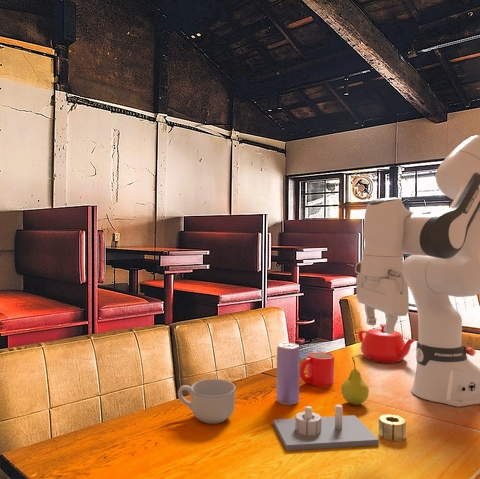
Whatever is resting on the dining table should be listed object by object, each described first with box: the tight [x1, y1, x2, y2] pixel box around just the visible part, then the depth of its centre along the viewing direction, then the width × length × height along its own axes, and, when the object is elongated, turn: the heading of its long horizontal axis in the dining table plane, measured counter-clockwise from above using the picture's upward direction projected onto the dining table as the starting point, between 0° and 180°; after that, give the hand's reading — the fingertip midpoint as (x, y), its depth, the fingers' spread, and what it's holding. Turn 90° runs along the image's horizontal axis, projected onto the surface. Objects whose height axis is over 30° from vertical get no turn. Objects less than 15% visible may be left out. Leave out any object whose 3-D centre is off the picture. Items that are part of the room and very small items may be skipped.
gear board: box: [272, 404, 380, 452], centre depth 105 cm, size 20×13×6 cm, turn 98°
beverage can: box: [275, 342, 301, 406], centre depth 125 cm, size 6×6×15 cm
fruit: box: [340, 356, 369, 406], centre depth 123 cm, size 7×7×12 cm
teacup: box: [177, 378, 237, 425], centre depth 114 cm, size 14×11×8 cm
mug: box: [299, 351, 335, 387], centre depth 141 cm, size 8×12×8 cm, turn 125°
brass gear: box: [378, 414, 407, 442], centre depth 105 cm, size 5×5×4 cm
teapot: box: [357, 323, 417, 364], centre depth 166 cm, size 25×16×12 cm, turn 32°
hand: (379, 328), depth 108 cm, fingers open, 8 cm apart
